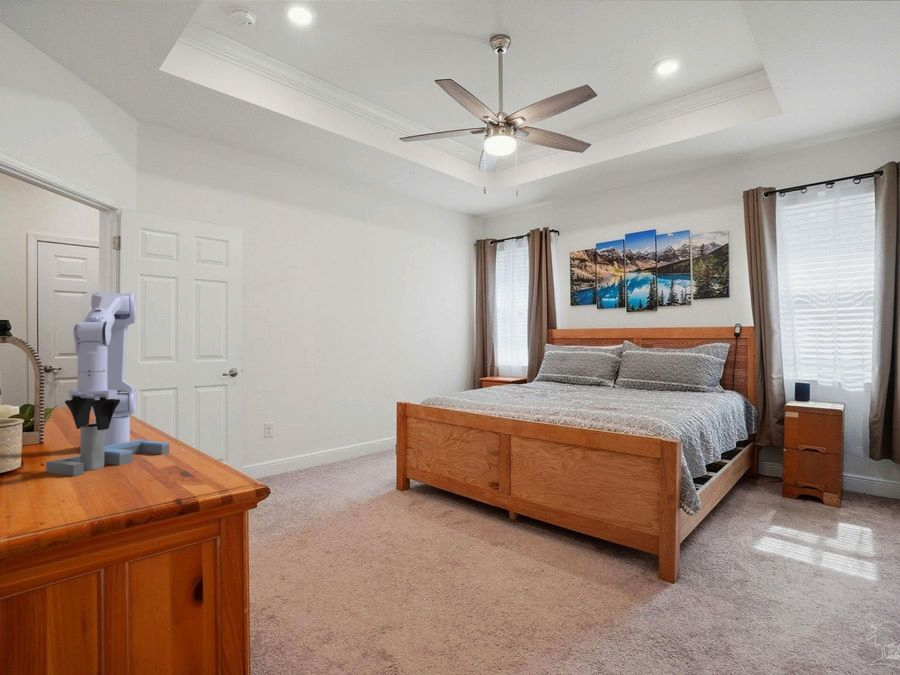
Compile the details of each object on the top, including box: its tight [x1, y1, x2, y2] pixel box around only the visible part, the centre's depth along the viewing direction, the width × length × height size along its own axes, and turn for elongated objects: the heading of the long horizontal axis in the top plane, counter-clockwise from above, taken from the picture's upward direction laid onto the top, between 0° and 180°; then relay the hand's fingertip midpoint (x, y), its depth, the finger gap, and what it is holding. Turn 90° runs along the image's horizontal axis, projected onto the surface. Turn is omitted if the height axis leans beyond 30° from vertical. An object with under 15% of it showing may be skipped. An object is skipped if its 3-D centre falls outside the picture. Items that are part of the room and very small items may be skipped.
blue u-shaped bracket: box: [104, 438, 170, 455], centre depth 122 cm, size 10×13×1 cm
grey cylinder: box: [79, 423, 105, 472], centre depth 111 cm, size 4×4×10 cm
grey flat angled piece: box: [45, 444, 170, 477], centre depth 117 cm, size 10×23×2 cm, turn 158°
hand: (92, 428), depth 112 cm, fingers open, 7 cm apart
